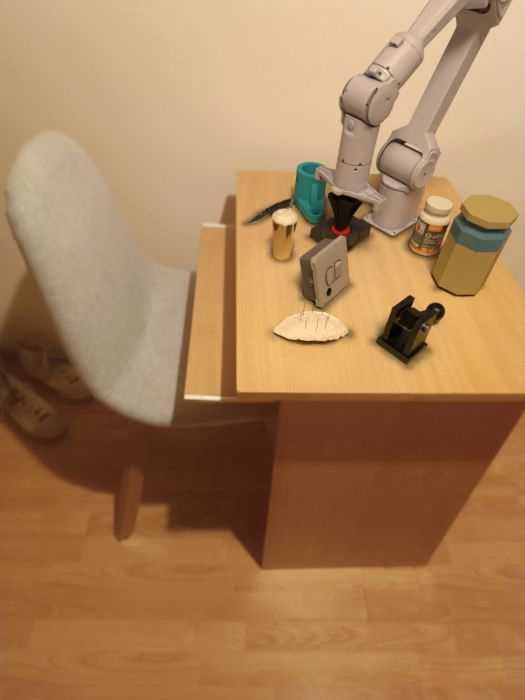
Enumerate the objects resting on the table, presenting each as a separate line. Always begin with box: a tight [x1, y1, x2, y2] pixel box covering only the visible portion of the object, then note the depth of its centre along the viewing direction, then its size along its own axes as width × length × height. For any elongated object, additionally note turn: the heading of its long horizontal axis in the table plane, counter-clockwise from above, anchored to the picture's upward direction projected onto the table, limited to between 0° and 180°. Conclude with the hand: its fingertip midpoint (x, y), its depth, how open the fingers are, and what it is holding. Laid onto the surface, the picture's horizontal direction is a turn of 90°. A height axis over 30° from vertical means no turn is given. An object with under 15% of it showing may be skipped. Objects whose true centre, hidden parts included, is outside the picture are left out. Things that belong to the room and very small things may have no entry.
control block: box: [309, 215, 372, 249], centre depth 90 cm, size 11×9×4 cm
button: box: [331, 225, 350, 236], centre depth 88 cm, size 4×4×2 cm
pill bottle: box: [409, 195, 454, 257], centre depth 87 cm, size 6×6×10 cm
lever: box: [398, 302, 446, 331], centre depth 72 cm, size 12×3×3 cm, turn 132°
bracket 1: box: [293, 161, 328, 224], centre depth 96 cm, size 6×12×7 cm, turn 6°
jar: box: [431, 194, 520, 295], centre depth 79 cm, size 9×9×15 cm
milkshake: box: [271, 198, 299, 261], centre depth 84 cm, size 4×5×10 cm
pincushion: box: [273, 298, 350, 342], centre depth 72 cm, size 12×6×6 cm, turn 93°
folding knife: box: [248, 197, 295, 224], centre depth 97 cm, size 13×1×2 cm
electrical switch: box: [298, 235, 350, 309], centre depth 78 cm, size 9×5×9 cm, turn 141°
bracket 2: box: [375, 294, 438, 365], centre depth 70 cm, size 5×6×8 cm
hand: (340, 228), depth 87 cm, fingers closed, pressing on button
